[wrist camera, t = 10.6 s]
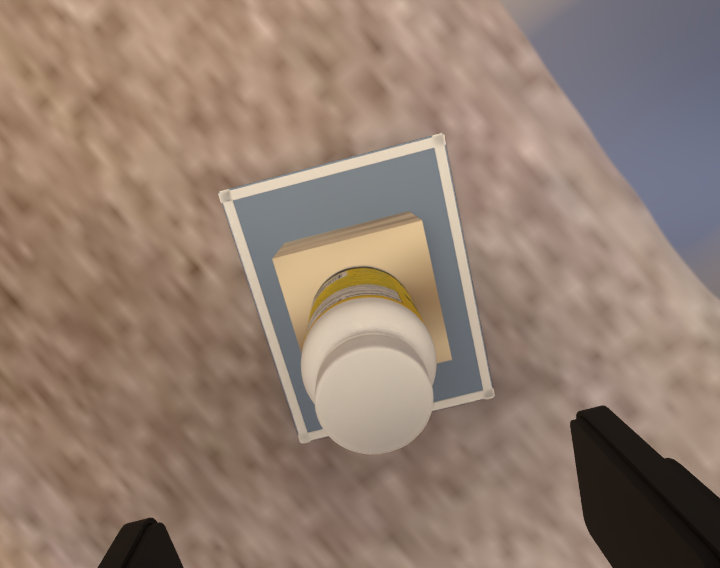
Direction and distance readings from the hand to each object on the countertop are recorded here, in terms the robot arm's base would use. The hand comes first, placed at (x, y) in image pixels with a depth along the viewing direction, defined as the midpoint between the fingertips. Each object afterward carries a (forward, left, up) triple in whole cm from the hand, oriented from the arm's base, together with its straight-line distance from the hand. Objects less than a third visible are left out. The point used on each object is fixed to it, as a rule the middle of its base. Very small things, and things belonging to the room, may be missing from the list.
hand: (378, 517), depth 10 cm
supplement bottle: (0, 0, -15) cm, 15 cm away
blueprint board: (+1, 0, -21) cm, 21 cm away
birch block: (0, 0, -20) cm, 20 cm away
